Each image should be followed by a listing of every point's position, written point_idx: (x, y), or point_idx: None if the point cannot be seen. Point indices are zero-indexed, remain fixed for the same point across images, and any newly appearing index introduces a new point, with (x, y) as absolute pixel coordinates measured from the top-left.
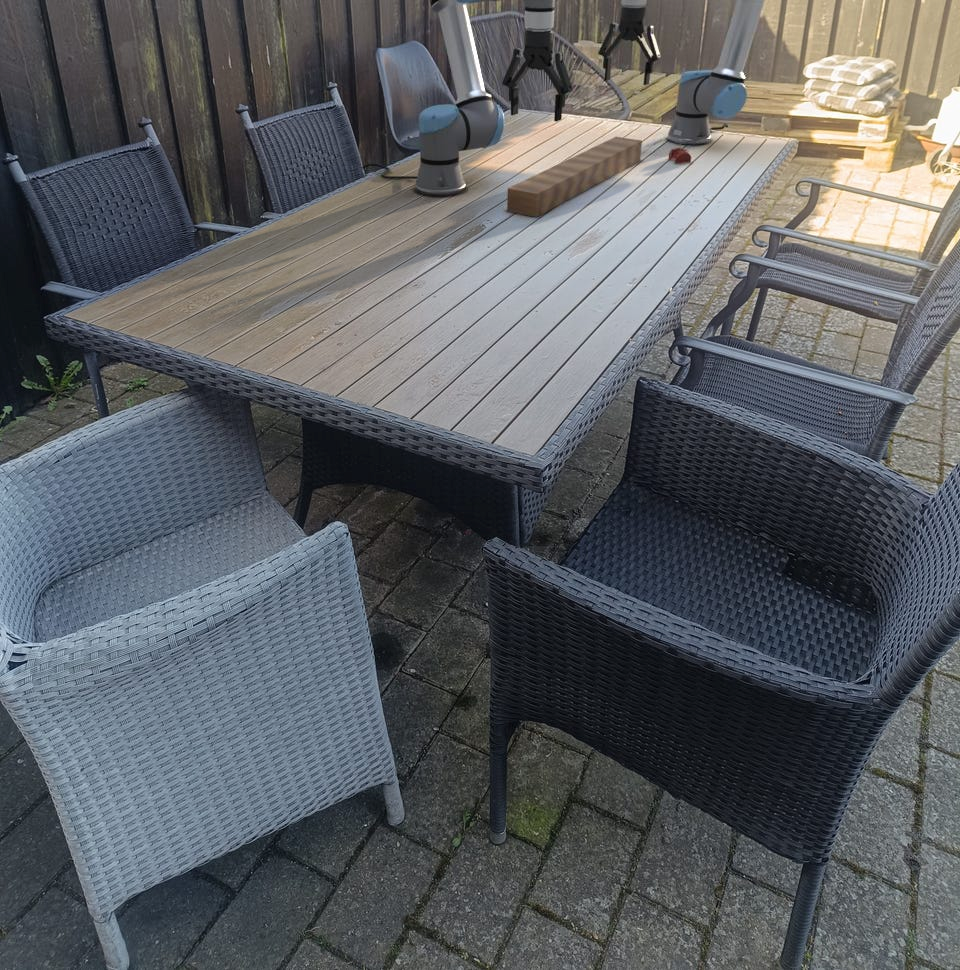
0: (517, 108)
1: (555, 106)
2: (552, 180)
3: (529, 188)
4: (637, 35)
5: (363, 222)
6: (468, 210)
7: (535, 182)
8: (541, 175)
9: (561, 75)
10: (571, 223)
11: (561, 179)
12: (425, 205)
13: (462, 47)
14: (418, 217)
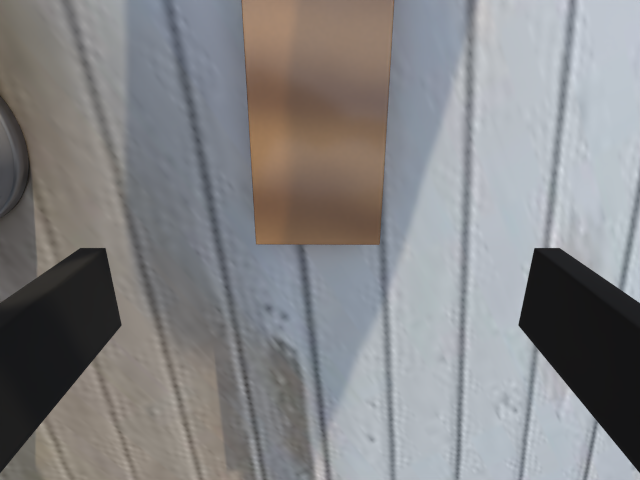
0: (83, 281)
1: (598, 414)
2: (349, 55)
3: (324, 206)
4: None
5: (41, 452)
6: (169, 268)
7: (303, 125)
8: (270, 9)
9: None
10: (484, 210)
11: (377, 16)
12: None
13: None
14: (108, 373)
